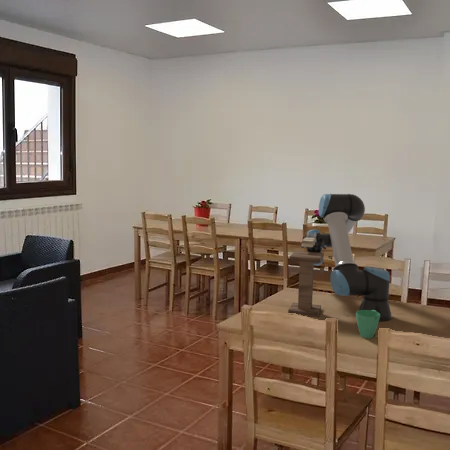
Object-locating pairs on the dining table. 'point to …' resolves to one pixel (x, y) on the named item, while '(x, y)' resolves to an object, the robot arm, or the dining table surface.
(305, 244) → the bar
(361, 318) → the mug
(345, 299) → the dining table surface
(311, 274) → the stand
